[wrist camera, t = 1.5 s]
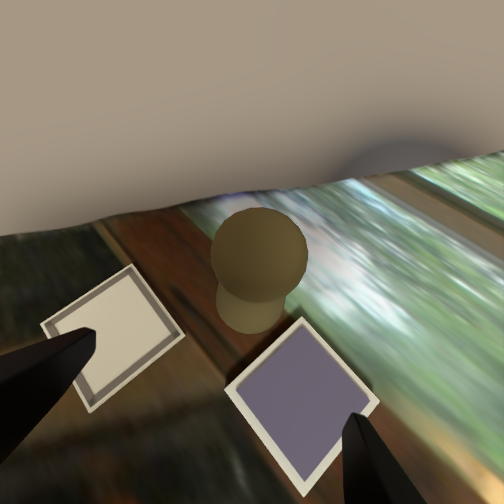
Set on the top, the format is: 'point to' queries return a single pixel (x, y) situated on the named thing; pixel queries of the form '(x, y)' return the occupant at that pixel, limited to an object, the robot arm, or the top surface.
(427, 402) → the top surface
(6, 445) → the robot arm
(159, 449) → the top surface
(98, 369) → the white flat square piece
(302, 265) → the brown peg figure
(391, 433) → the top surface
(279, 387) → the ink pad
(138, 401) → the top surface
